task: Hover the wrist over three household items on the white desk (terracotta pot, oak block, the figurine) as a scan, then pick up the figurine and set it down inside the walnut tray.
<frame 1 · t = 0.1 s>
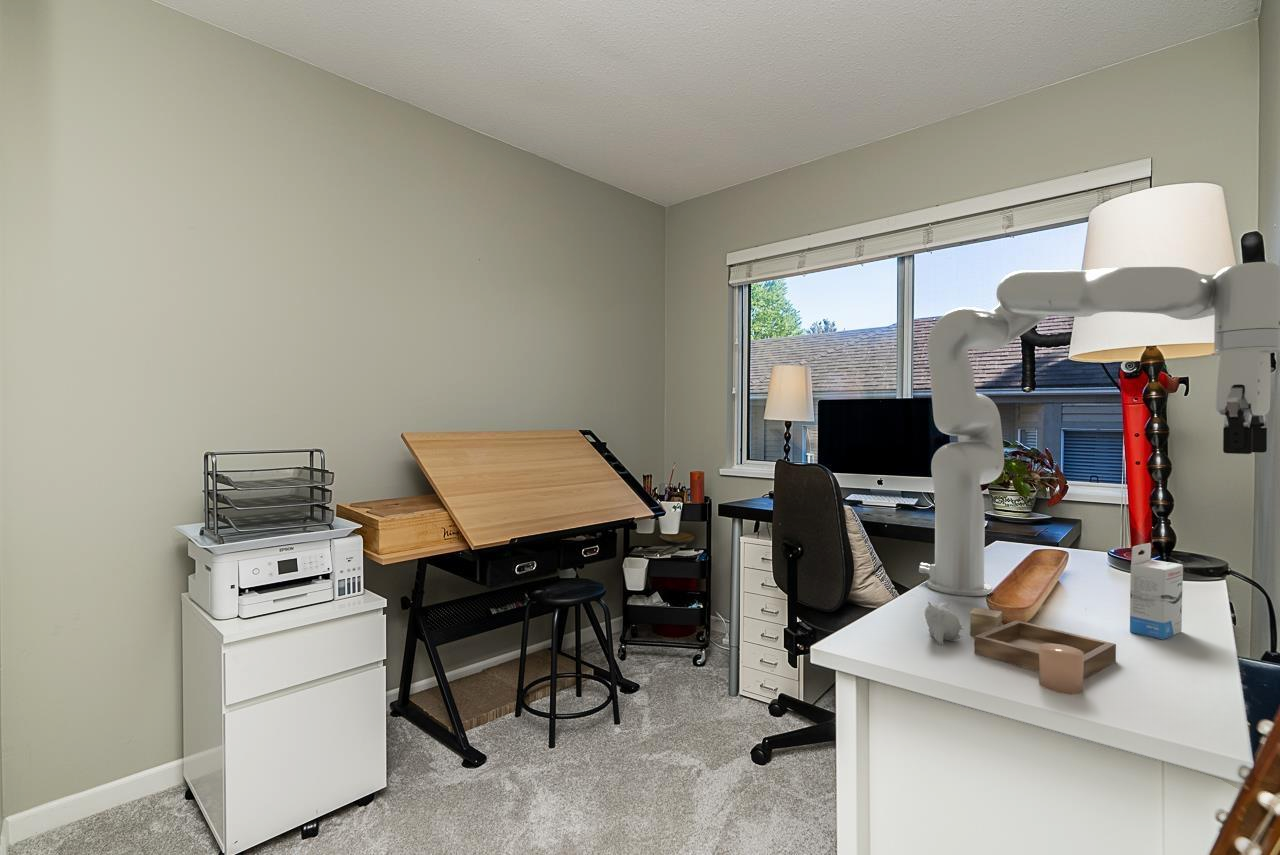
hand: (1245, 452, 99), 31 cm above the table, fingers open, 9 cm apart
oak block: (985, 636, 106), on the table
figurine: (940, 642, 103), on the table
ink box: (1156, 633, 108), on the table
terracotta pot: (1060, 686, 85), on the table
walnut tray: (1043, 657, 96), on the table
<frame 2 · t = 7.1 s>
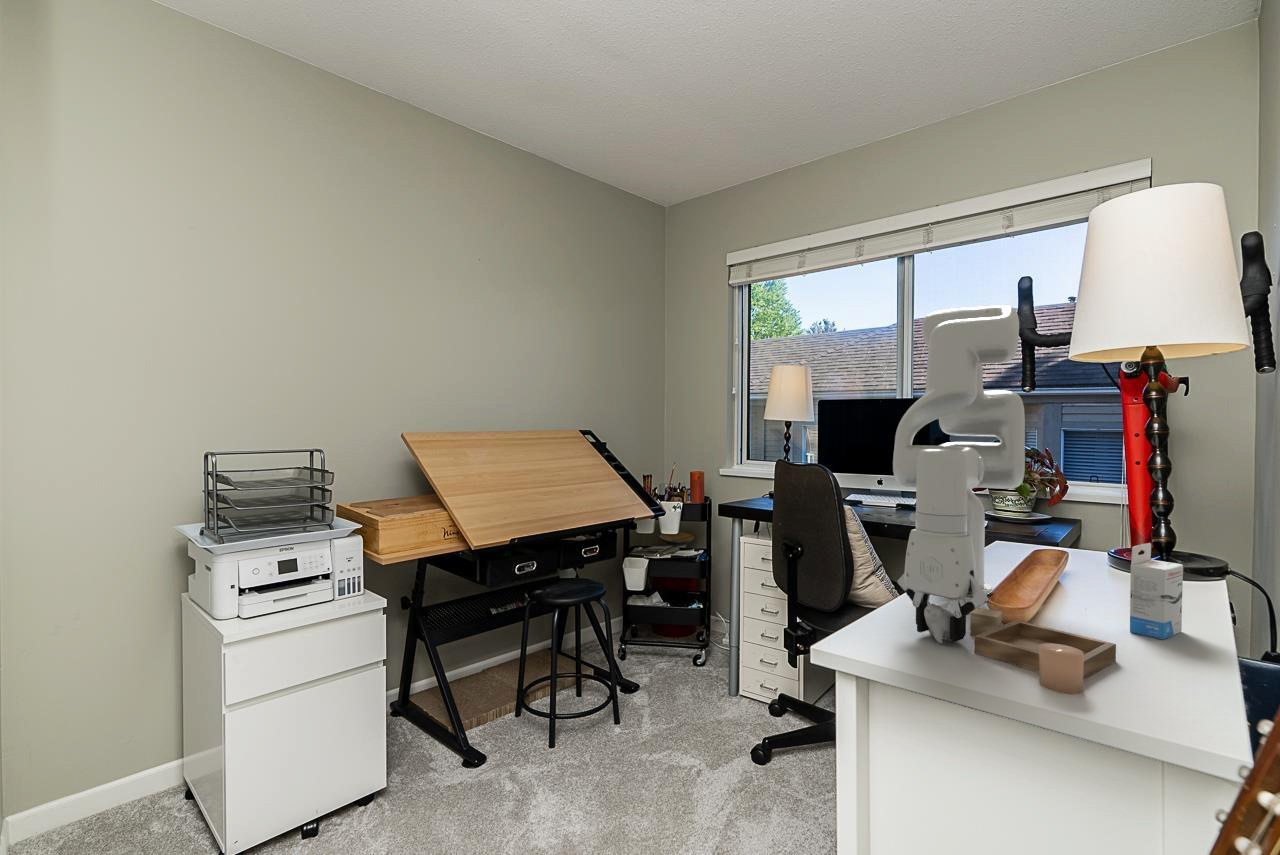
hand: (940, 634, 103), 1 cm above the table, fingers closed on figurine, 4 cm apart
figurine: (939, 641, 103), on the table, touching gripper
everything else where it was.
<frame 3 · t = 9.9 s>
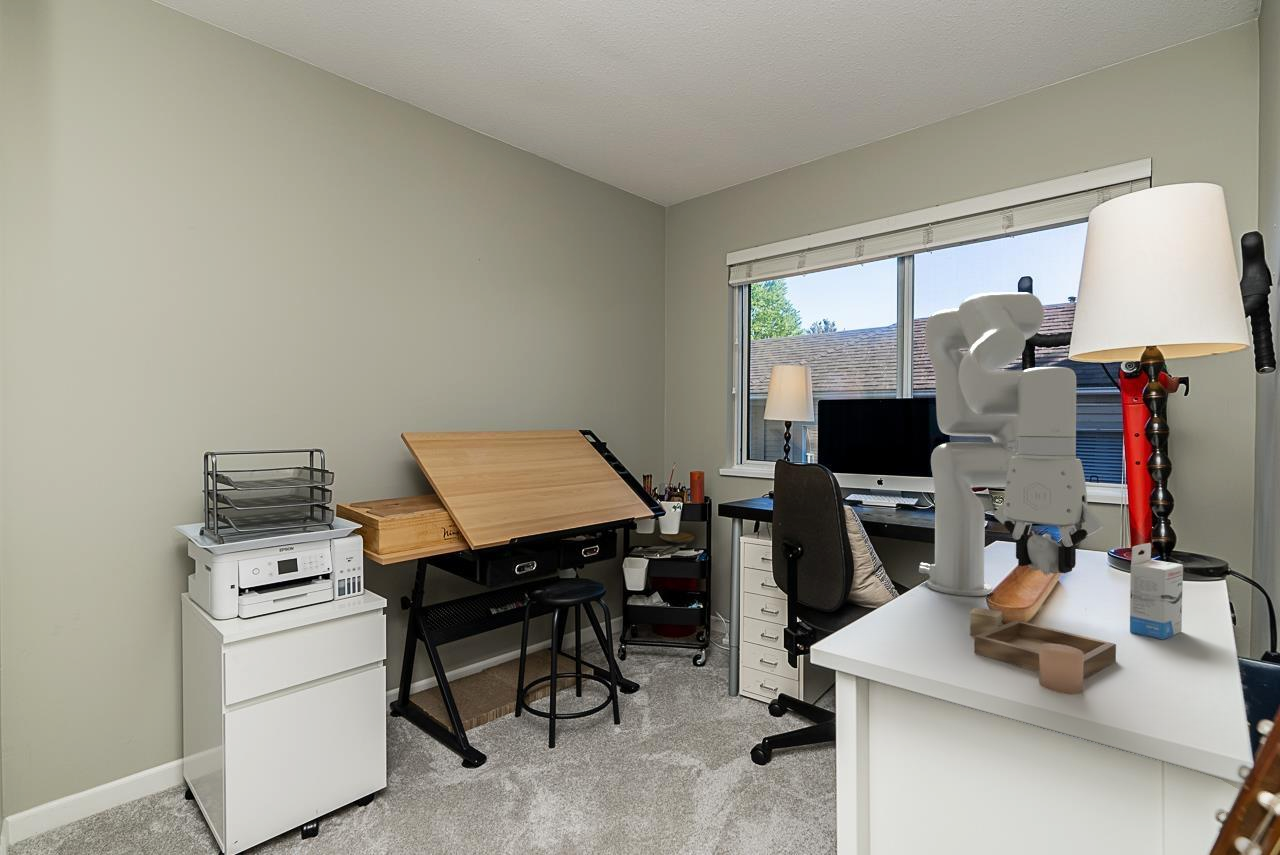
hand: (1044, 567, 96), 14 cm above the table, fingers closed on figurine, 4 cm apart
figurine: (1044, 575, 96), point 12 cm above the table, touching gripper
everything else where it was.
when the fingers open (3 cm above the table, at t = 12.4 s): figurine drops 2 cm, resting on walnut tray.
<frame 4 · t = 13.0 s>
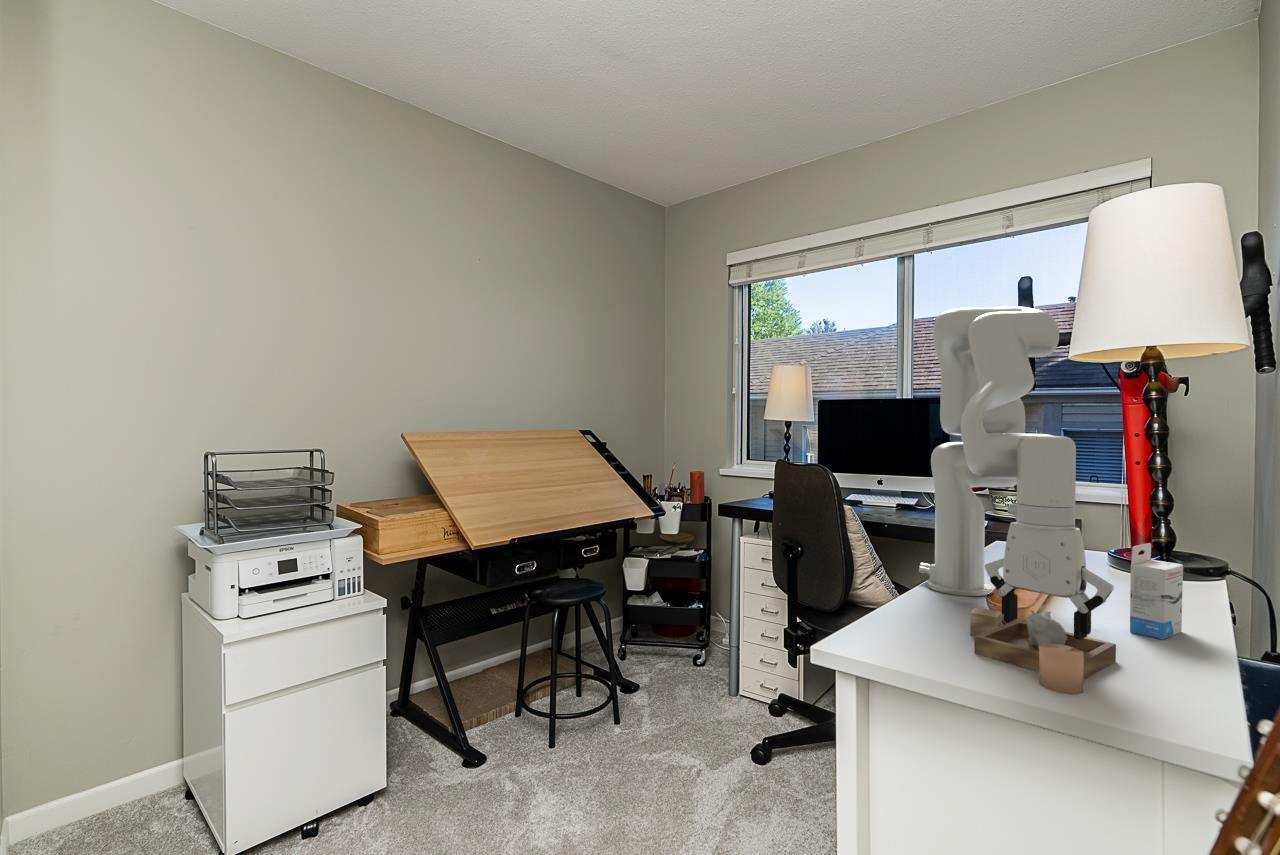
hand: (1044, 628, 96), 4 cm above the table, fingers open, 9 cm apart
figurine: (1043, 653, 96), resting on walnut tray
everything else where it was.
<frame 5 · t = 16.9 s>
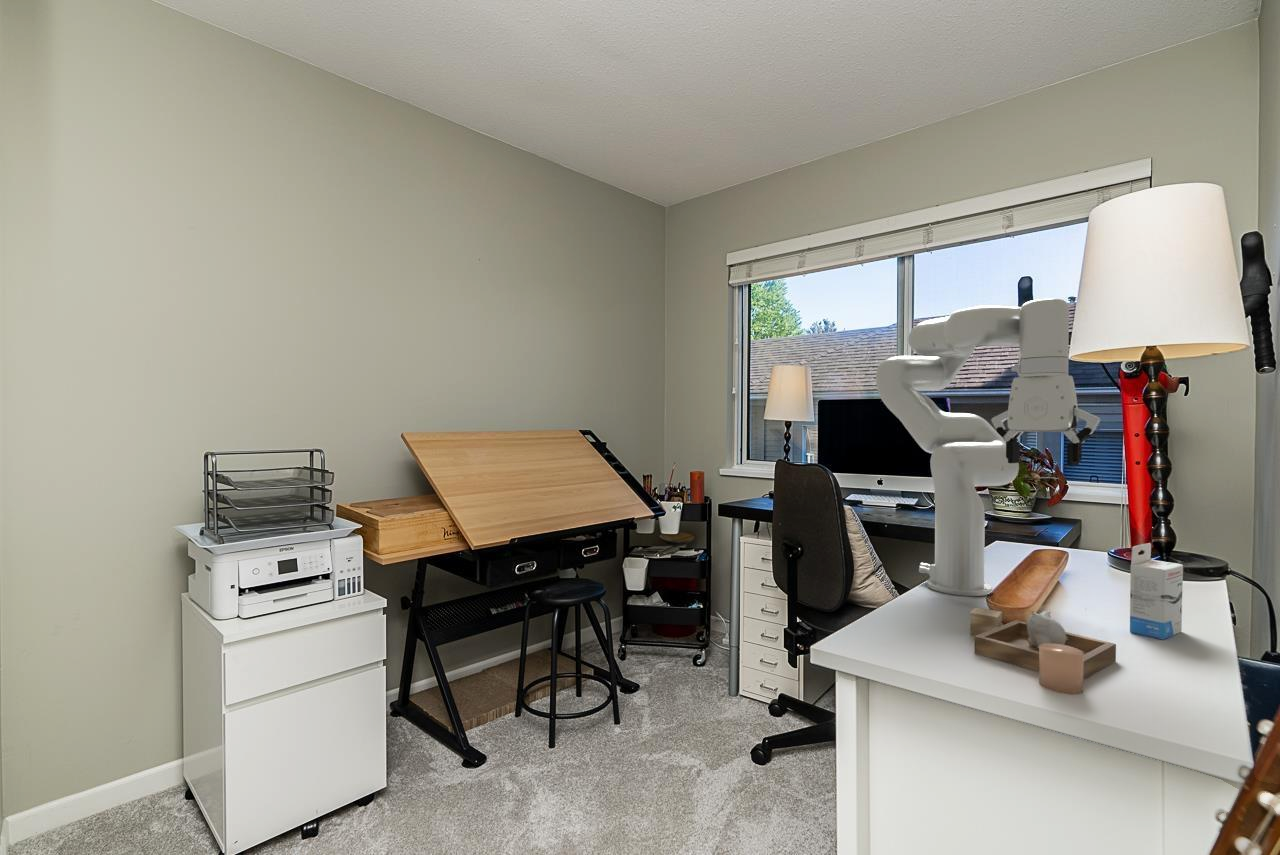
hand: (1042, 464, 114), 28 cm above the table, fingers open, 9 cm apart
nothing on the table moved.
at the end: figurine inside the target area on the walnut tray (0.2 cm from its centre), point 0.4 cm above the walnut tray's base; figurine tilted 0°; the gripper is holding nothing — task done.
